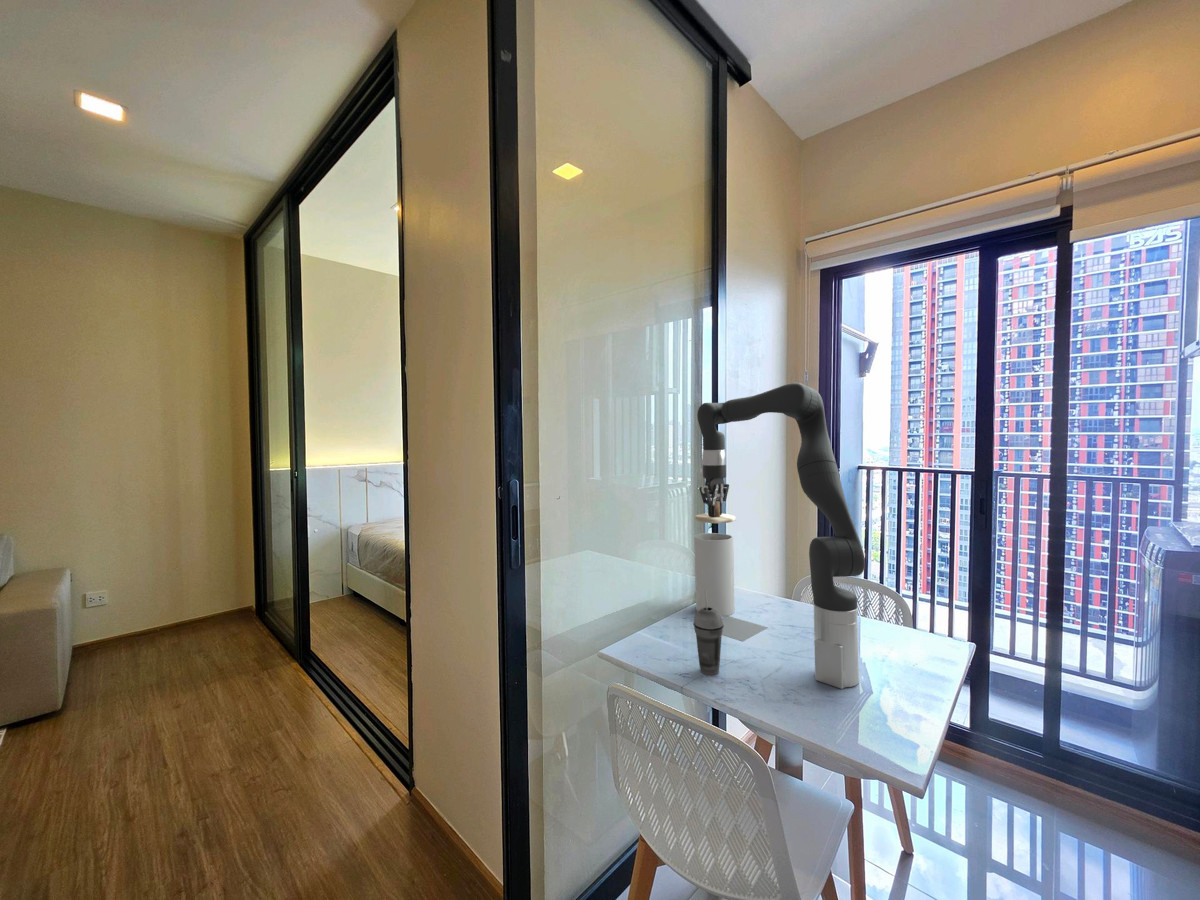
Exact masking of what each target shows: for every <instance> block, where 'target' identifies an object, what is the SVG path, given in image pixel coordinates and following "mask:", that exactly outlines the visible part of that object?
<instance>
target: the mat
mask: <svg viewBox="0 0 1200 900" xmlns="http://www.w3.org/2000/svg"><path fill="white" fill-rule="evenodd" d="M721 618H722V622H723V626H724V627H723V632H722V636H724V637H727V638H731V639H734V640H736V641H740V642H745V641H747V640H748V639H750V638H752V637H753V636H755V635H758V634H759V633H761V632H763V631H765V630H767V629H769V627H768V626H765V625H761V624H757V623H753V622H751V621H747V620H743V619H741V618H737V617H733V616H731V615H729V616H723V617H721Z"/></svg>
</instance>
